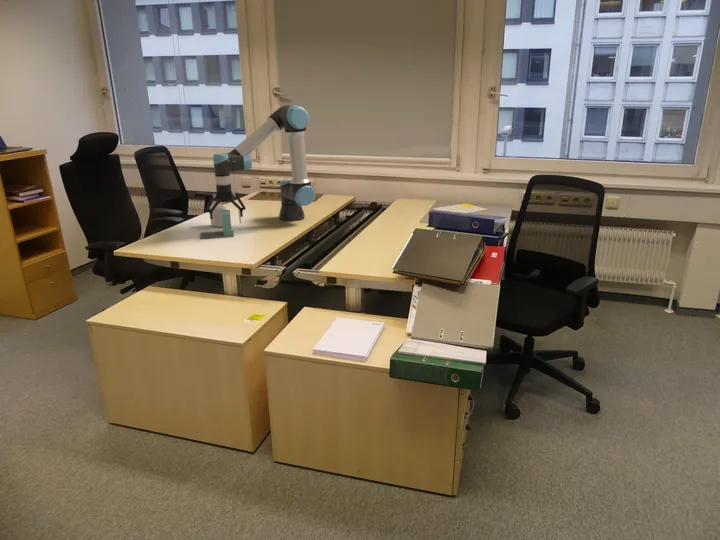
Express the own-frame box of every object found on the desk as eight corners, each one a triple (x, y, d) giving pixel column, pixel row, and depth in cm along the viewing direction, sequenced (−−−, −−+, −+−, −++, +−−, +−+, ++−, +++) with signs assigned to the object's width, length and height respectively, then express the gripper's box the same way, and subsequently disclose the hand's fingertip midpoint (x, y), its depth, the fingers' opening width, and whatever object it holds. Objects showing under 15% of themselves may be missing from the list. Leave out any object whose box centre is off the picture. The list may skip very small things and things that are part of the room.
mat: (233, 230, 288) (233, 230, 288) (233, 236, 276) (233, 236, 276) (200, 232, 284) (200, 232, 284) (200, 239, 272) (200, 238, 272)
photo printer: (229, 226, 297) (227, 204, 293) (223, 228, 293) (221, 206, 289) (215, 224, 302) (213, 202, 298) (210, 225, 298) (208, 204, 294)
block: (231, 231, 286) (229, 209, 282) (231, 235, 277) (230, 213, 274) (223, 231, 285) (221, 210, 281) (224, 236, 276) (222, 213, 273)
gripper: (247, 181, 279) (250, 220, 286) (198, 184, 273) (203, 223, 280) (248, 183, 272) (251, 223, 279) (198, 186, 266) (202, 227, 273)
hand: (227, 223), depth 279 cm, fingers open, 13 cm apart
